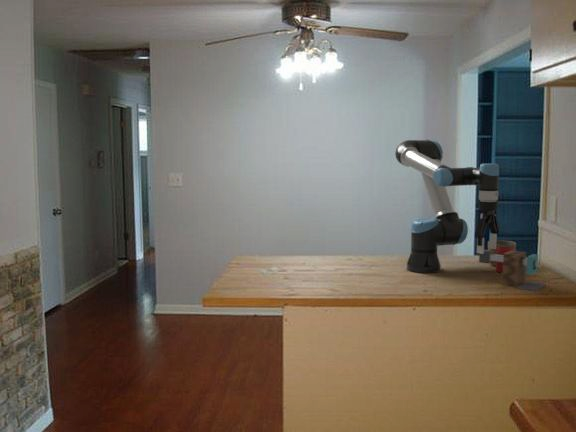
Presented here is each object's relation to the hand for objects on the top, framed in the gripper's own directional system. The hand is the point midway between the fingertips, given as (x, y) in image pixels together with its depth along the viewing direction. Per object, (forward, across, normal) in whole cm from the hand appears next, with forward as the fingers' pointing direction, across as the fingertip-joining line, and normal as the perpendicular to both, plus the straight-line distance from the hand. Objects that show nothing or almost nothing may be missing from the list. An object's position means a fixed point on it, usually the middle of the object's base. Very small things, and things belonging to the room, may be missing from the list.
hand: (486, 251), depth 248 cm
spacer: (+7, 0, -19) cm, 20 cm away
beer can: (+12, +19, 0) cm, 23 cm away
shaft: (+5, 0, -9) cm, 10 cm away
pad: (+12, 0, -19) cm, 22 cm away
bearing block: (+12, 0, -12) cm, 17 cm away
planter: (+12, +32, +6) cm, 35 cm away
